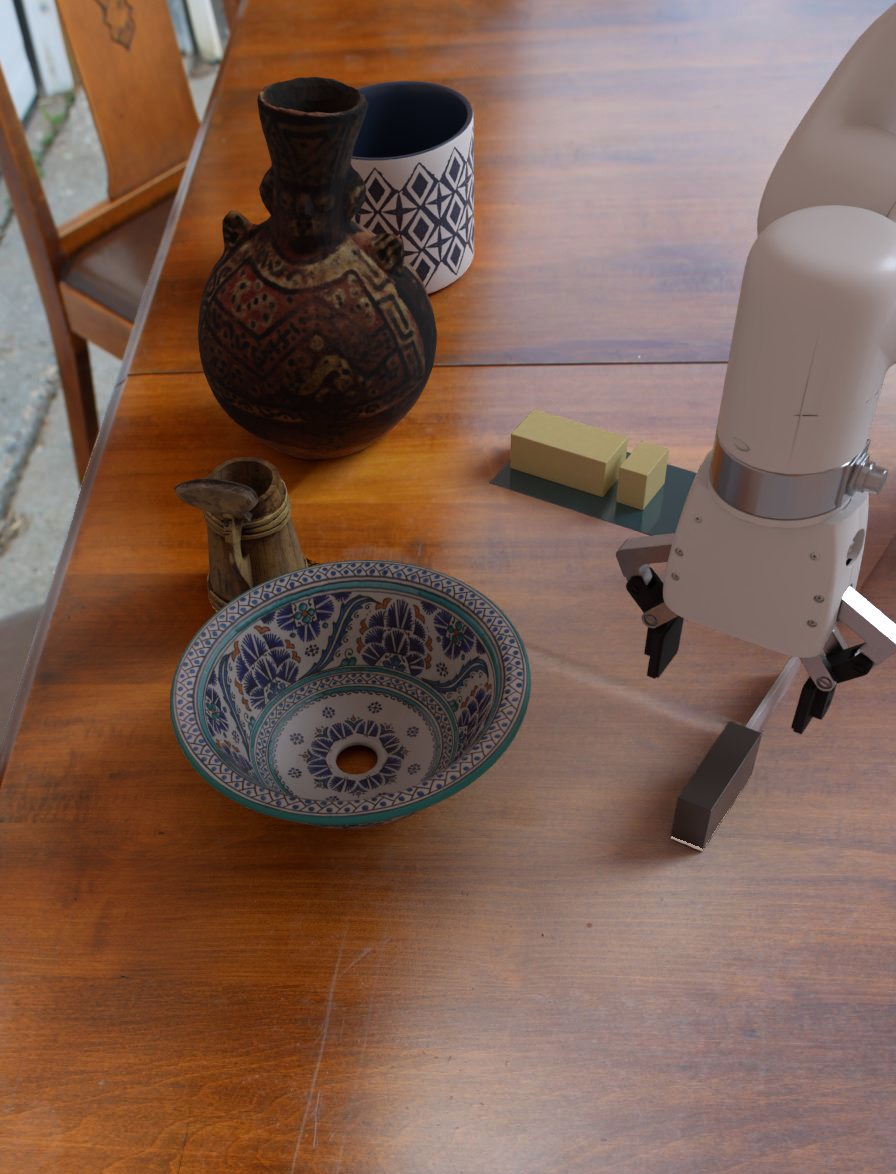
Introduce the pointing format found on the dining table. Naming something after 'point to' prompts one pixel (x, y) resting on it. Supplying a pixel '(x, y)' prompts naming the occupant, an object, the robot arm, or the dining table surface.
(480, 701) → the bowl
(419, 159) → the planter
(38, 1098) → the dining table surface
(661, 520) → the flat slate board
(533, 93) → the dining table surface
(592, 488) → the butter stick
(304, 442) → the ceramic vessel
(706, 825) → the knife
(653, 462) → the butter slice
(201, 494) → the wooden mug
